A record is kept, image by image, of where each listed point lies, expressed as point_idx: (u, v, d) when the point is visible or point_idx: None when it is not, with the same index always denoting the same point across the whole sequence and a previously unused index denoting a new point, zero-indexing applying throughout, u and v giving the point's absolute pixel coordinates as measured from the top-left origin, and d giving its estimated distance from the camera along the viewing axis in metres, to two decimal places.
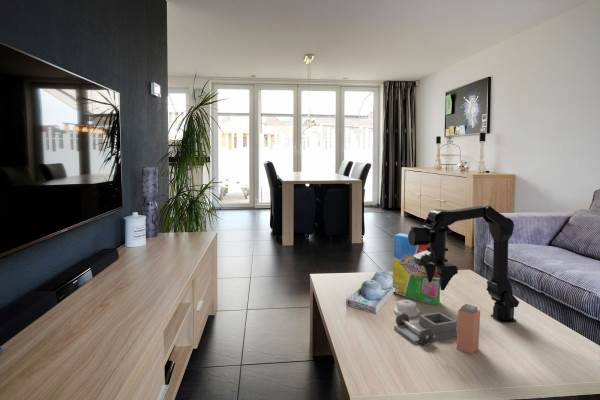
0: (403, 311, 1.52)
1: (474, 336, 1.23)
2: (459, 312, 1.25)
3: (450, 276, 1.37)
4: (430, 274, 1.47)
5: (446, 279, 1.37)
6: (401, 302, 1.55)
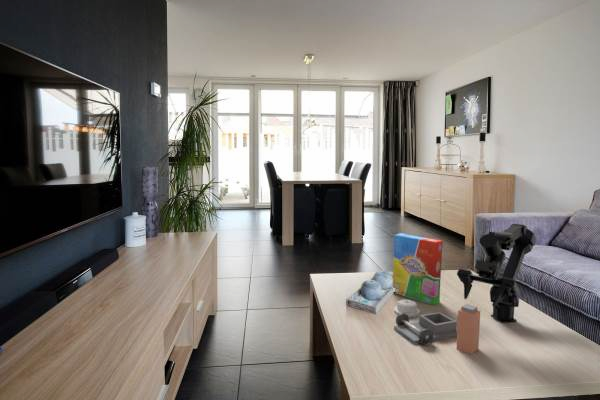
0: (403, 311, 1.53)
1: (474, 336, 1.23)
2: (459, 312, 1.25)
3: (505, 295, 1.29)
4: (468, 291, 1.35)
5: (501, 296, 1.29)
6: (401, 302, 1.56)
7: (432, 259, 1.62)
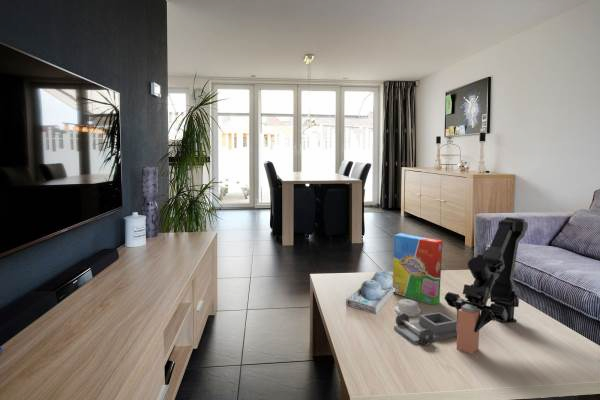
0: (404, 310, 1.53)
1: (474, 336, 1.23)
2: (459, 312, 1.25)
3: (487, 320, 1.25)
4: None
5: (484, 321, 1.24)
6: (402, 301, 1.56)
7: (432, 259, 1.62)
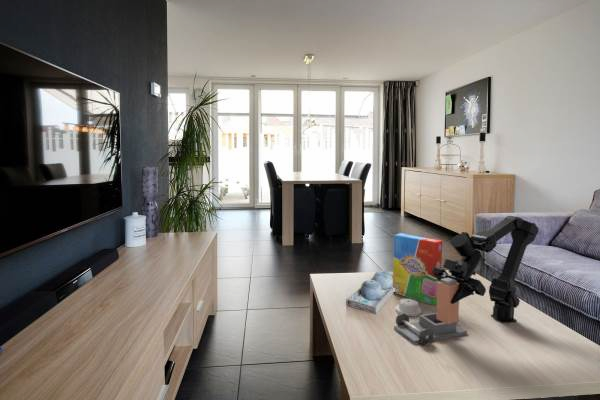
0: (405, 310, 1.54)
1: (451, 308, 1.30)
2: (438, 284, 1.33)
3: (466, 294, 1.31)
4: None
5: (462, 295, 1.30)
6: (403, 301, 1.56)
7: (432, 259, 1.62)
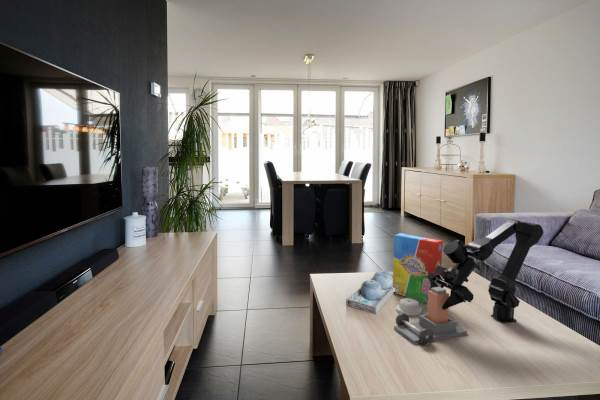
0: (405, 310, 1.54)
1: (439, 316, 1.36)
2: (428, 292, 1.39)
3: (458, 301, 1.34)
4: None
5: (453, 301, 1.34)
6: (403, 301, 1.57)
7: (432, 259, 1.62)
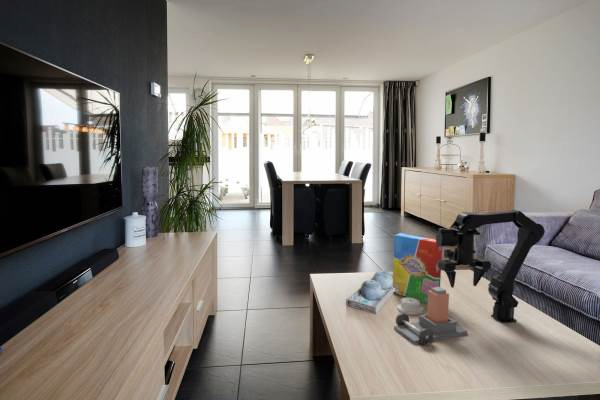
0: (407, 309, 1.55)
1: (439, 316, 1.36)
2: (428, 292, 1.39)
3: (450, 274, 1.44)
4: (475, 278, 1.48)
5: (450, 277, 1.45)
6: (405, 300, 1.58)
7: (432, 259, 1.62)
